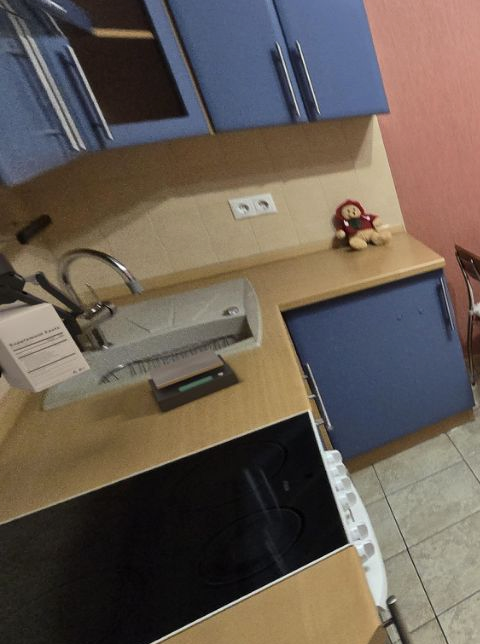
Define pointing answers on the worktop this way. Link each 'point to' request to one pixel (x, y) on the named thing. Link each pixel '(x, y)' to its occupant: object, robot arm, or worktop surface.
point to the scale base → (194, 386)
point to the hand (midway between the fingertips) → (41, 362)
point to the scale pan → (185, 368)
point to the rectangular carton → (36, 347)
